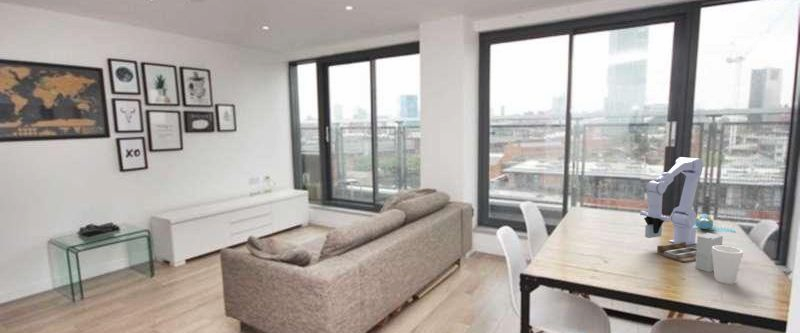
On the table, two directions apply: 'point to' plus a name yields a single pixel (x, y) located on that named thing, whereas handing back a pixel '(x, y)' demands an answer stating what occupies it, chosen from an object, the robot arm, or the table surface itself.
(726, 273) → the foam cup
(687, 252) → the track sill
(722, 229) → the blue toy animal
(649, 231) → the door panel
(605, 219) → the table surface
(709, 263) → the skincare box
